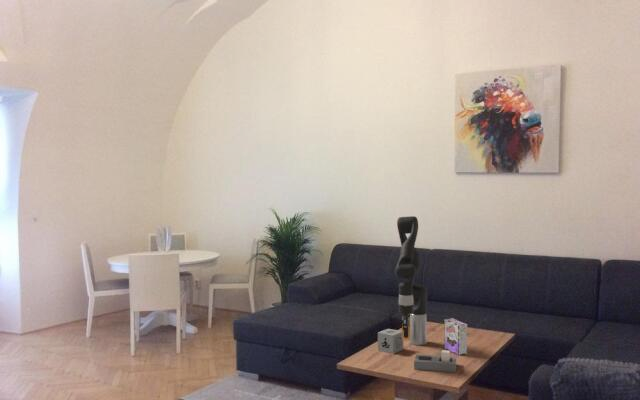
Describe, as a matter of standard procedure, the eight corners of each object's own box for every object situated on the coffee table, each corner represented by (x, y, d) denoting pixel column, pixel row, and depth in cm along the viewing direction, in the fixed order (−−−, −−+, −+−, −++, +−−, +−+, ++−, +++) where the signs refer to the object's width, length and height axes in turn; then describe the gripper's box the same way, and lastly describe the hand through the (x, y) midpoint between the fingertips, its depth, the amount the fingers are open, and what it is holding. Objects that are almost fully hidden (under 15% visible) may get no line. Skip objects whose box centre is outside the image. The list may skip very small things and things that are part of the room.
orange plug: (403, 338, 300) (402, 324, 299) (410, 338, 298) (410, 325, 298) (402, 340, 296) (402, 326, 295) (410, 340, 295) (409, 327, 294)
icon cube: (388, 346, 326) (388, 328, 325) (403, 349, 319) (403, 331, 319) (378, 350, 318) (377, 332, 318) (393, 353, 312) (392, 335, 311)
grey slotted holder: (416, 361, 298) (416, 346, 298) (456, 364, 293) (456, 348, 293) (414, 369, 287) (414, 353, 286) (455, 372, 281) (455, 355, 281)
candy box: (443, 348, 320) (443, 318, 319) (453, 347, 322) (452, 317, 321) (458, 355, 307) (458, 324, 306) (467, 354, 309) (467, 323, 308)
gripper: (400, 299, 304) (400, 332, 305) (396, 306, 290) (397, 339, 291) (414, 300, 302) (415, 332, 303) (412, 306, 288) (412, 340, 289)
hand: (406, 336), depth 297 cm, fingers closed on orange plug, 4 cm apart
